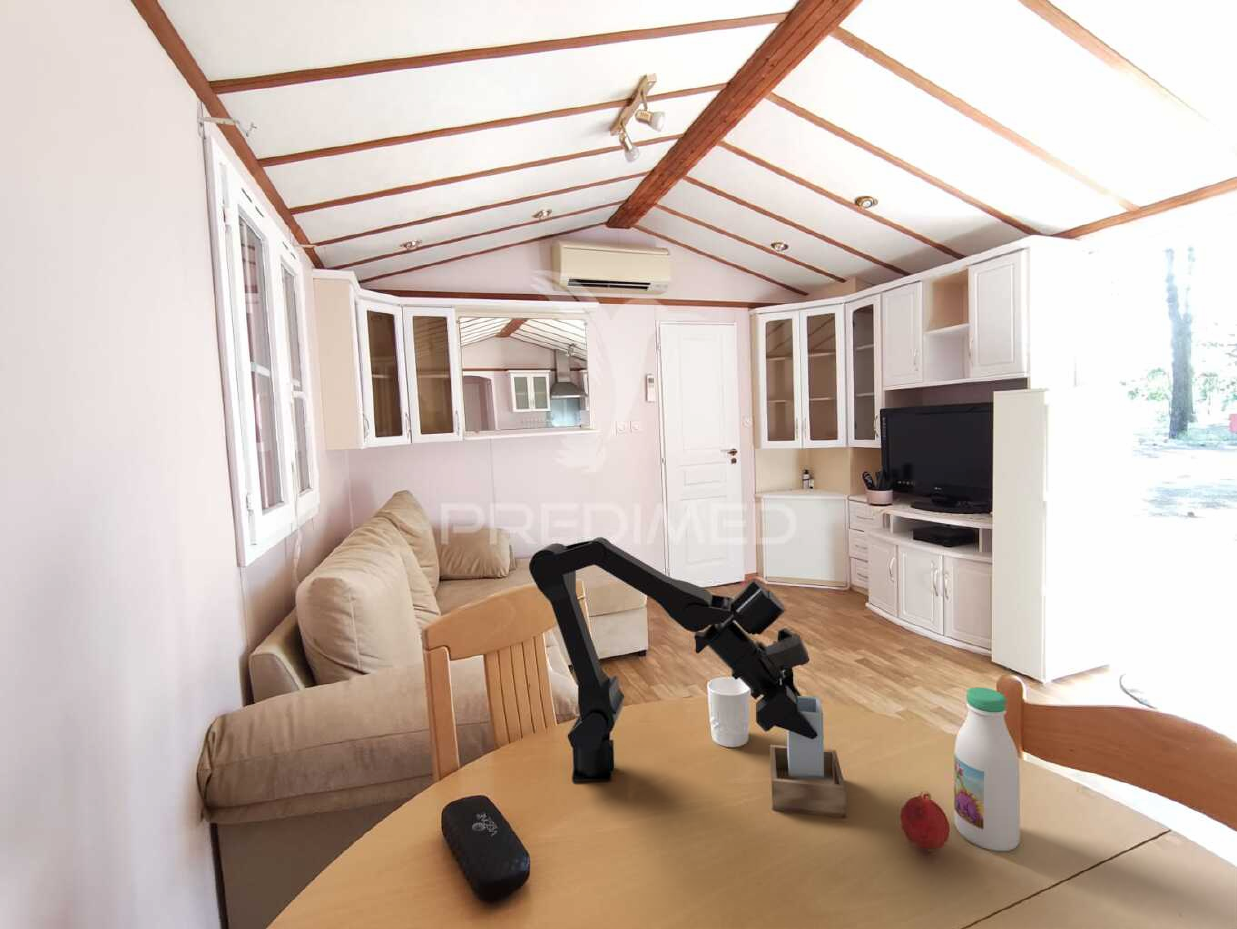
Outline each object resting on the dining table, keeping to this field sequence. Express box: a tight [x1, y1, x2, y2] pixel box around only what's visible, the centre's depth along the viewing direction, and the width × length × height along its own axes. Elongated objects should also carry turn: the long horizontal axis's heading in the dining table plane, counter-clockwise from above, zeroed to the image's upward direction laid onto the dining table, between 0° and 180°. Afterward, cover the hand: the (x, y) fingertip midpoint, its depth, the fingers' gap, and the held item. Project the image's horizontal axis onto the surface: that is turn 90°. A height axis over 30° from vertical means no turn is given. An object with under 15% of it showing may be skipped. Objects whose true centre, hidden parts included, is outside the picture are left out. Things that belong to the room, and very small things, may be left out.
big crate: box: [769, 744, 847, 819], centre depth 92 cm, size 10×10×4 cm
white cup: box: [706, 676, 751, 748], centre depth 109 cm, size 8×8×10 cm
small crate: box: [786, 695, 824, 780], centre depth 91 cm, size 5×6×10 cm
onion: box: [899, 790, 951, 852], centre depth 78 cm, size 6×6×8 cm
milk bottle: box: [953, 687, 1021, 852], centre depth 81 cm, size 8×8×20 cm
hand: (813, 726), depth 91 cm, fingers closed on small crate, 6 cm apart
